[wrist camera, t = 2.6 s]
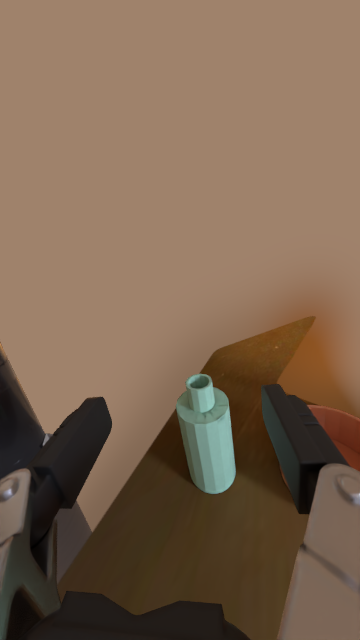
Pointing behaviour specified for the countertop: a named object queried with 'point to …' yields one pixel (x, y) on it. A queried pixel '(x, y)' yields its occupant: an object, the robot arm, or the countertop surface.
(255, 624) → the countertop surface
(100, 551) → the countertop surface
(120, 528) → the countertop surface
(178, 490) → the countertop surface
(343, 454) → the terracotta bowl
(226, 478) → the bottle
